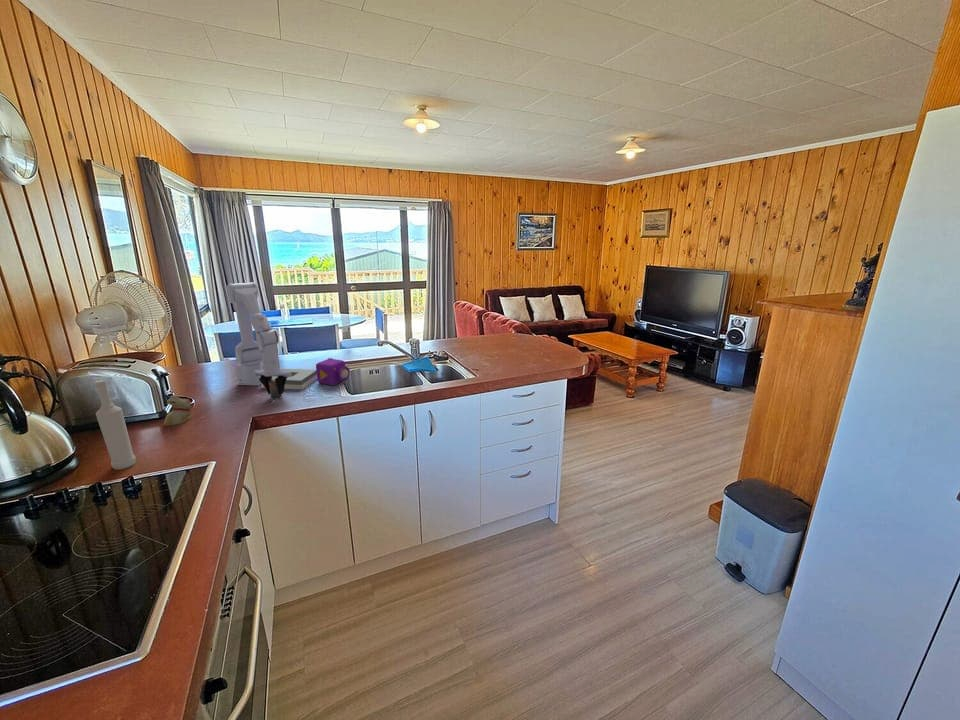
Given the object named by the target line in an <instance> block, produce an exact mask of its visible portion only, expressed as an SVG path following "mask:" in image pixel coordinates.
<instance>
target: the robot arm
mask: <svg viewBox="0 0 960 720" xmlns="http://www.w3.org/2000/svg"><path fill="white" fill-rule="evenodd" d="M226 293H227V294H226V295H227V299H228V302H229V303H230V304H233V305H234V307H235V312H236V318H237V324H238V330H239V335H240V340H241V341H240V342H239V343H238V344H237V345H236V346H235V348H234V349H235V350H234V351H235V353H234V355H235V356H234V357H235V359H236V362H237V363H238V364H237V365H236V368H235V372H236V373H235V374H236V377H237V384H236V386H237V385H238V386H259V385H260V386H261V383H262V384H263V385H264V387H265V388H264V389H265V390H266V392H267V394H268V395H270V389H269V384H268V381H269V380H272V376H278V378H276V379H275V382H276V384H277V387H278V392H279V394H282V395H283V394H284V392H285V389H284V386H285V382H286V380H287V377H291V376H292V371H285V370H280V369H281V365H280V357H279V353H278V352H279V351H278V346H277V345H278V344H279V341H280V340H279V335H278V332H277V330H276V329H275V328H274V327H272V325H270V322H269V319H268V317H267V316H266V315H265V314H264V313H263V314H262V311H261V309H260V306H259V303H258V297H259V287H258V286H257V284H256V283H255V282H254V281H251V282H239V283H228V284H227V286H226ZM253 329H254V331H253ZM254 333H255V337H254ZM262 366H263V368H262Z"/></svg>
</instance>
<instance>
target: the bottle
mask: <svg viewBox="0 0 960 720" xmlns="http://www.w3.org/2000/svg"><path fill="white" fill-rule="evenodd" d="M94 384H95V388H96V390H97V393H98V398H99V401H100V403H101V405H100V408H99V409H98V410H97V411H96V412H95V415H96V419H97V423H98V425H99V428H100V431H101V433H102V437H103V440H104V444H105V446H106V449H107V451H108V454H109V458H110V460H111V461H110V464H111V467H112V469H114V470H125V469H127V468H130V467H132V466H134V465H135V464H136V463H137V460H136V459H137V458H136V455H135V454H134V452H133V448H132V444H131V441H130V437H129V433H128V432H129V431H128V429H127V425H126V421H125V417H124V413H123V409H122V407H120V406H117V405H115V404H114V403H113V402H112V400H111V396H110V393H109V392H110V391H109V389H108V385H107V382H106V380H105V379H100V380H96V381H94Z"/></svg>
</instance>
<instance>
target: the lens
mask: <svg viewBox="0 0 960 720" xmlns="http://www.w3.org/2000/svg"><path fill="white" fill-rule="evenodd" d="M268 384H269V389H270V394H269V395H270V399H271V398H272V399H271V400H277V398H278V399H281V398H282V397H283V393H282V394H279V392H278V387H277V384H276V382H275V379H272V380H269V381H268ZM280 397H281V398H280Z"/></svg>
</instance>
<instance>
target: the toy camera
mask: <svg viewBox="0 0 960 720" xmlns="http://www.w3.org/2000/svg"><path fill="white" fill-rule="evenodd" d="M315 370H316V372H317V379H316V380H317V382H318V383H319V384H325V385H328V386H329V385H330V386H335V385H337V384H339V383H342V382H346V381H348V379H349V378H350V374H351V371H350V368H349V367H348V366H346V362H345V361H344V360H342V359H336V358H333V357H328V358H327V359H325V360H322V361H319V362H317V363H316V364H315Z"/></svg>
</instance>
